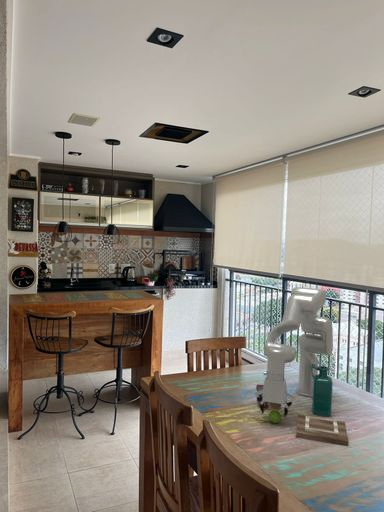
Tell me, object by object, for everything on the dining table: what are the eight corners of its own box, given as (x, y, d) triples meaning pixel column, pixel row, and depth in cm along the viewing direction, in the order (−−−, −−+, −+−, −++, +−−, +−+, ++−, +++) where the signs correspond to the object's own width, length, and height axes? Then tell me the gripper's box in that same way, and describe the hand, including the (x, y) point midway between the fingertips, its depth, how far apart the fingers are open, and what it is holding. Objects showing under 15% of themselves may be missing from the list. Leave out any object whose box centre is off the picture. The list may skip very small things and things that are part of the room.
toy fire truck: (282, 410, 184) (283, 388, 184) (256, 408, 185) (257, 386, 185) (280, 404, 191) (281, 383, 191) (255, 402, 192) (256, 381, 192)
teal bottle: (330, 410, 185) (332, 365, 185) (331, 417, 177) (333, 370, 177) (309, 407, 189) (311, 362, 188) (309, 414, 181) (311, 367, 180)
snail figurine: (264, 419, 173) (265, 393, 173) (278, 419, 174) (279, 393, 173) (268, 425, 168) (269, 398, 168) (282, 425, 168) (283, 398, 168)
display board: (297, 418, 176) (297, 412, 175) (344, 426, 170) (344, 419, 170) (295, 437, 158) (296, 429, 158) (348, 446, 152) (348, 438, 152)
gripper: (254, 376, 169) (253, 414, 170) (295, 381, 164) (293, 421, 165) (256, 370, 176) (255, 407, 177) (296, 375, 171) (294, 413, 172)
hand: (273, 414), depth 171 cm, fingers open, 9 cm apart
